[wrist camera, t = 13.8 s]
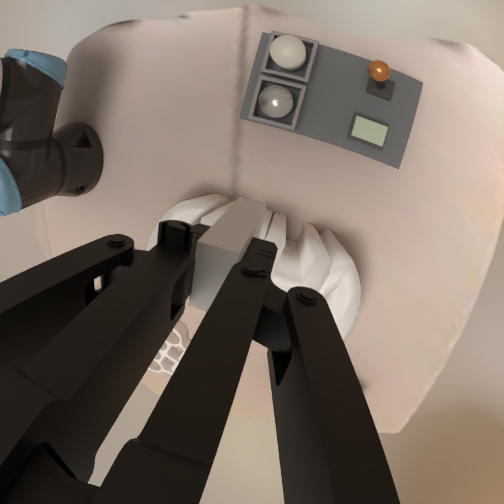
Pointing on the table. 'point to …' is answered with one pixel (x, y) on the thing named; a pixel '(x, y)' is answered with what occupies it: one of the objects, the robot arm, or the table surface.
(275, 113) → the metal button
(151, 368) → the knuckle duster
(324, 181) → the table surface
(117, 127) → the table surface
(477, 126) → the table surface
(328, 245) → the white wavy slab sculpture
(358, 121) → the rocker switch
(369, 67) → the toggle lever
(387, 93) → the switch panel
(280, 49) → the white button
